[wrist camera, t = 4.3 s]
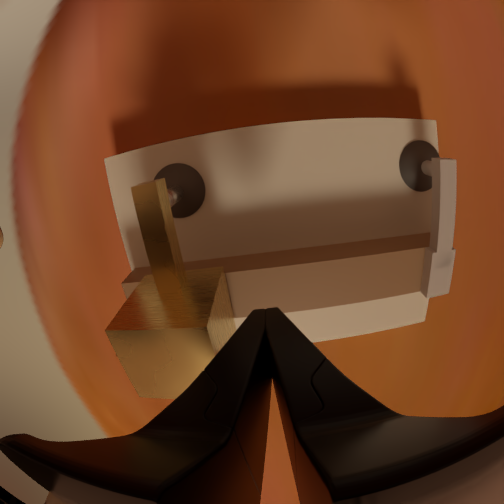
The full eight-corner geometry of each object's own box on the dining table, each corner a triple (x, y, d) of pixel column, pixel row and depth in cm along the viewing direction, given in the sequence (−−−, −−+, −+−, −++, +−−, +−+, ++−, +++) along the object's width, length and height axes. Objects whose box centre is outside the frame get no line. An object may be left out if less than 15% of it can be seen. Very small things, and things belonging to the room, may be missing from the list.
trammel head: (212, 164, 10) (173, 185, 6) (239, 309, 12) (228, 398, 8) (138, 179, 10) (62, 211, 6) (174, 315, 13) (139, 397, 8)
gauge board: (424, 120, 10) (466, 120, 7) (417, 309, 14) (443, 344, 11) (116, 156, 11) (76, 164, 8) (167, 339, 15) (150, 381, 12)
